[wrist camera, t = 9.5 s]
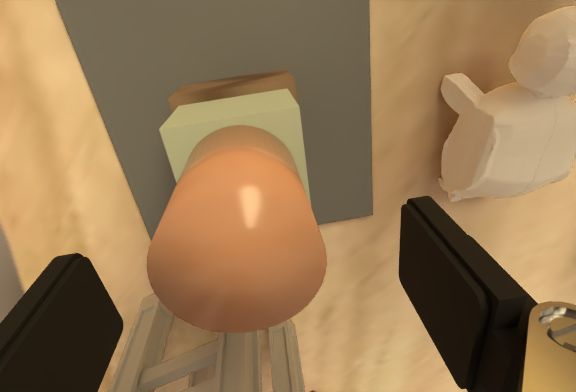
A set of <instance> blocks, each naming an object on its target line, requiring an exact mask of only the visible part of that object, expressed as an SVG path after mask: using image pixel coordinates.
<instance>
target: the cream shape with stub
mask: <svg viewBox="0 0 576 392" xmlns="http://www.w3.org/2000/svg"><path fill="white" fill-rule="evenodd" d="M508 68H509V70H510V72H511V74H512V75H513V77H514V79H515V80H516V81H517V82H513V83H508V84H505V85H502V86H499V87H497V88H495V89H493V90H491V91H489V92H488V93H486V94H484V93H483V92H482V91H481V90H480V89H479V88H478V87H477V86H476V85H475V84H473V82H472V81H471V80H470V79H469V78H468V77H467V76H466V75H464V74H463V73H458V74H456V73H453V74H449V75H445V76H444V78H443V81H442V84H441V88H440V90H441V93H442V95H443V97H444V100H445V101H446V103H448V105H449V106H450V107H451V108H452V109H453V110H454V111H456V112H457V113H458V114H459V118H458V120H457V122H456V123H455V125H454V127H453V130H452V132H451V133H450V134H449V136H448V139H447V140H446V141H445V143H444V147H443V152H442V158H441V160H442V161H441V165H442V166H441V168H442V170H441V171H442V173H441V175H442V177H440V178H439V179H438V181H439V183H440V185H441V188H442V189H443V190H444V191H447V192H448V197H449V200H450V202H457V201H460V200H461V199H462V198H475V197H488V198H505V197H515V196H519V195H522V194H526V193H529V192H531V191H533V190H536V189H538V188H540V187H542V186H544V185H546V184H548V183H554V182H557V181H560V180H562V179H564V178H565V177H567V176H568V174H569V173H570V171H571V168H572V165H573V161H574V158H575V155H576V103H575V102H574V101H573V100H572V99H570V98H569V97H568V96H567V95H572V94H576V5H573V6H568V7H563V8H559V9H557V10H554V11H552V12H549V13H547V14H545V15H543V16H540V17H538V18H536V19H535V20H534V21H533V22H531V24H530V25H529V26H528V27H527V29H526V30H525V31H524V33H523V34H522V37H521V39H520V42H519V44H518V47H517V49H516V51H515V52H514V54H513V55H512V56H511V57H510V60H509V63H508Z"/></svg>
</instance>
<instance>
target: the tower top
mask: <svg viewBox="0 0 576 392" xmlns="http://www.w3.org/2000/svg"><path fill="white" fill-rule="evenodd" d="M234 125H247V126H253V127H257V128H260V129H263V130H265V131H268V132H270V133H271V134H273V135H275V136H276V137H277V138H278V139H280V140H281V141H282V142H283V143H284V144H285V145H286V146H287V148H288V149H289V151H290V152H291V154H292V156H293V158H294V161H295V164H296V166H297V169H298V172H299V175H300V178H301V180H302V183H303V186H304V189H305V192H306V194H307V197H308V200H309V203H310V206H311V201H310V193H309V184H308V176H307V167H306V159H305V150H304V142H303V133H302V125H301V117H300V108H299V105H298V104H297V102H296V101H295V99H294V98H293V96H292V95H291V93H290V91H289V90H288V88H287V89H280V90H274V91H268V92H262V93H255V94H249V95H243V96H237V97H231V98H224V99H218V100H212V101H206V102H200V103H193V104H187V105H181V106H178V107H177V109H176V110H175V111H174V112H173V113H172V114H171V116H170V117H169V118H168V119H167V120H166V122H165V123H164V124H163V125H162V126H161V127H160V129H159V131H160V134H161V137H162V140H163V143H164V146H165V149H166V152H167V155H168V158H169V161H170V165H171V168H172V171H173V174H174V177H175V180H176V183H177V182H178V180H179V178H180V176H181V173H182V171H183V169H184V167H185V164H186V162H187V160H188V157H189V155H190V154H191V152H192V150H193V148H194V147H195V146H196V145H197V143H198V142H199V141H201V140H202V139H203V138H204V137H205V136H207V135H208V134H210V133H212V132H213V131H215V130H218V129H221V128H223V127H228V126H234Z"/></svg>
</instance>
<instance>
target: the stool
mask: <svg viewBox="0 0 576 392" xmlns="http://www.w3.org/2000/svg"><path fill="white" fill-rule="evenodd" d="M173 315H174V314H173V313H172V312H171V311H170V310H168V309H167V308H166V307H165V306H164V304H163V303H162V302H161V301H160V300H159V298H158V297H157V296H156V294H152V295H150V296H148V297H146V298H144V299H143V301H142V304H141V306H140V309H139V312H138V314H137V317H136V319H135V322H134V325H133V327H132V330H131V333H130V335H129V338H128V341H127V343H126V346H125V349H124V351H123V354H122V356H121V359H120V362H119V364H118V367H117V370H116V372H115V375H114V378H113V380H112V383H111V385H110V388H109V391H108V392H154V390H155V388H158V387H160V386H162V385H165V384H167V383H169V382H172V381H174V380H177V379H179V378H181V377H184V376H186V375H188V374H190V378H189V384H188V389H186V390H183V391H181V392H262V383H261V359H260V335H259V330H258V331H253V332H246V333H223V332H219V336H218V339H217V340H215V341H212V342H210V343H208V344H205V345H203V346H201V347H198V348H196V349H194V350H191V351H189V352H187V353H184V354H182V355H180V356H177V357H175V358H173V359H170V360H168V361H166V362H163V363H161V362H162V358H163V354H164V350H165V346H166V342H167V338H168V334H169V330H170V327H171V323H172V319H173ZM268 331H269V344H270V358H271V372H272V386H273V392H305V386H304V380H303V374H302V367H301V361H300V355H299V349H298V343H297V336H296V330H295V324H294V323H293V321H292V320H291V318H290V319H288V320H286V321H284V322H282V323H280V324H278V325H275V326H273V327H270V328H268Z"/></svg>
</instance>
